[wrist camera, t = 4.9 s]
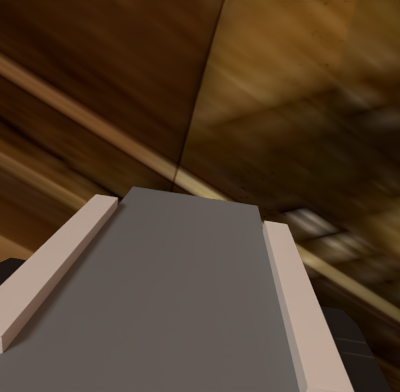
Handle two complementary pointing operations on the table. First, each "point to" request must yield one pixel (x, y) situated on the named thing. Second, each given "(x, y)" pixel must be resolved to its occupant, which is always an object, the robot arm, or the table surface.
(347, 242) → the table surface
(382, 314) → the table surface
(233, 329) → the charcoal domino
